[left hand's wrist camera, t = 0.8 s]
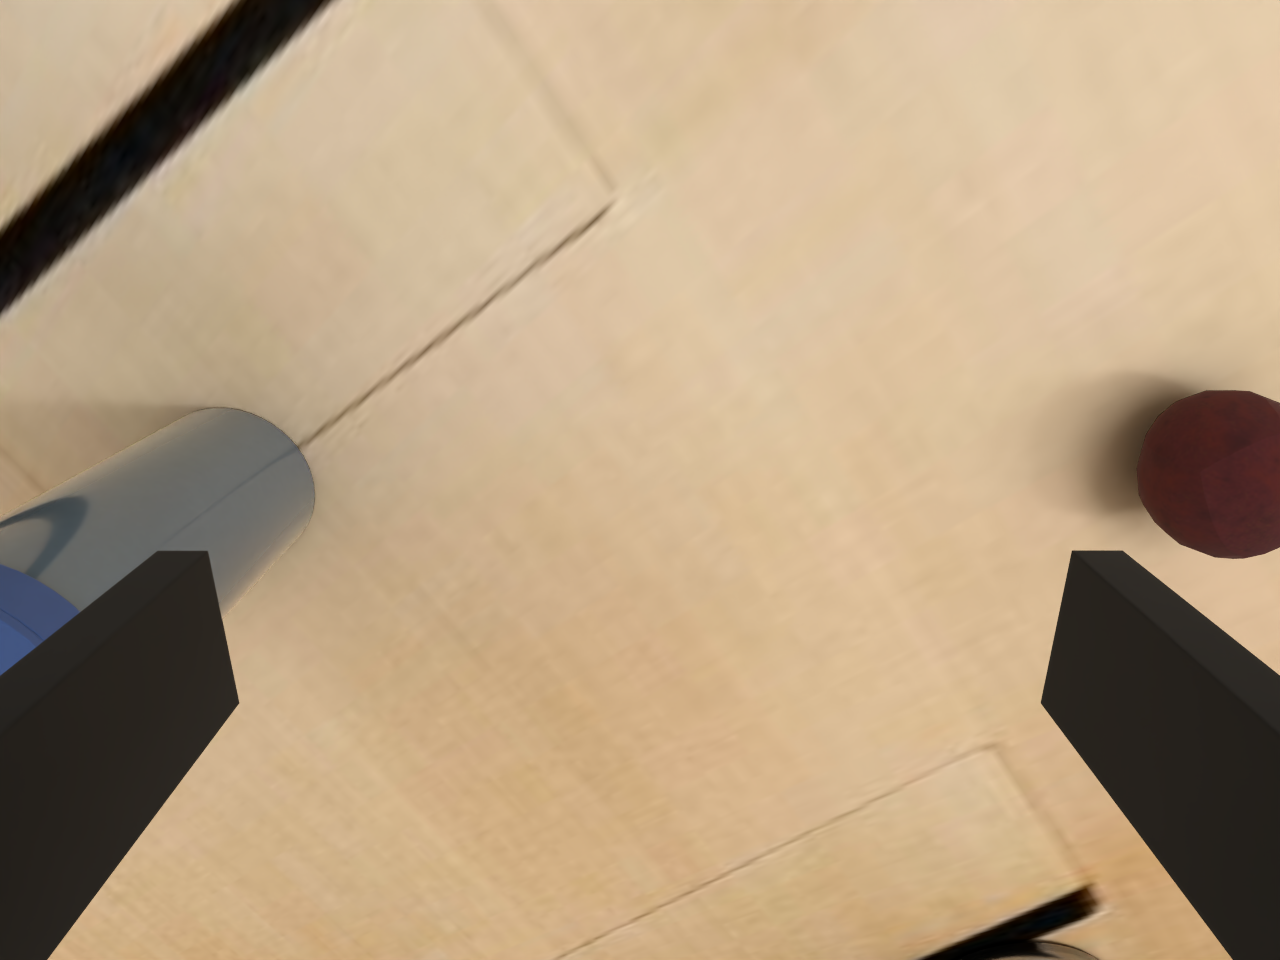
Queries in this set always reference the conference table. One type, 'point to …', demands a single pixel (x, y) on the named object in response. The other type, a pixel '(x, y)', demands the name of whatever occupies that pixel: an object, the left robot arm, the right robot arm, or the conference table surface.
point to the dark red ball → (1215, 473)
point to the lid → (27, 615)
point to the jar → (169, 508)
